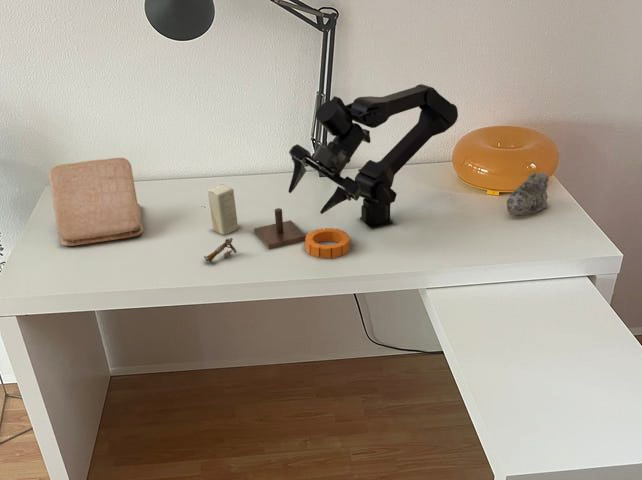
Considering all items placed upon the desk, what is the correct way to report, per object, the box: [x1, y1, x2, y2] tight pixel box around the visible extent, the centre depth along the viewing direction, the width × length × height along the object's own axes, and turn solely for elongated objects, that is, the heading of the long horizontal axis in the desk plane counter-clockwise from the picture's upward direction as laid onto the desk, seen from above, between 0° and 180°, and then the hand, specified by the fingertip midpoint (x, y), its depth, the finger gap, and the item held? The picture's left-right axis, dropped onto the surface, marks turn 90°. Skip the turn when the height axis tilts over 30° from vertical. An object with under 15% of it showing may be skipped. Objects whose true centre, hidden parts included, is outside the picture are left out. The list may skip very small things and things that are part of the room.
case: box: [48, 157, 144, 247], centre depth 193 cm, size 20×21×16 cm
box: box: [207, 184, 239, 236], centre depth 190 cm, size 5×4×11 cm
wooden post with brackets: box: [203, 237, 238, 265], centre depth 180 cm, size 2×8×4 cm, turn 124°
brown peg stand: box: [253, 207, 307, 250], centre depth 187 cm, size 10×10×7 cm
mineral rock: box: [506, 171, 549, 216], centre depth 194 cm, size 13×11×10 cm
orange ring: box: [304, 227, 351, 259], centre depth 183 cm, size 11×11×3 cm
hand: (305, 202), depth 177 cm, fingers open, 9 cm apart
